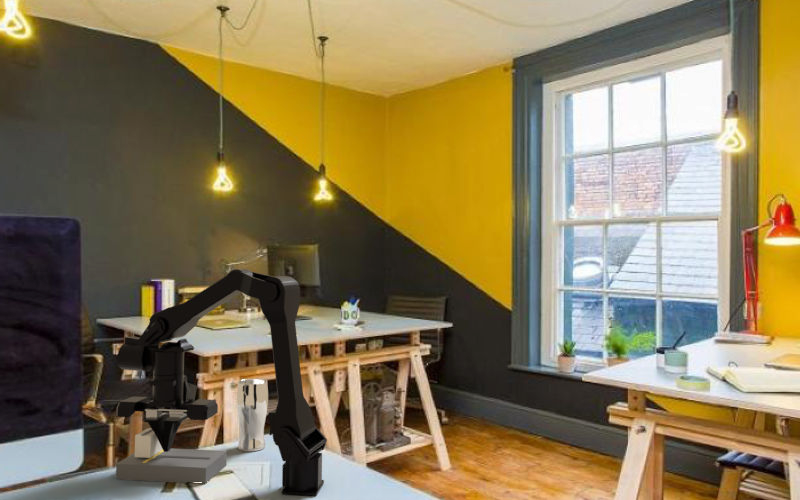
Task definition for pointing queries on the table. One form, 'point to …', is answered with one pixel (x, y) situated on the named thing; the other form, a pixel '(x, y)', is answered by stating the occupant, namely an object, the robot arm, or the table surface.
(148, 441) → the fader tab
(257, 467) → the table surface
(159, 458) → the fader console
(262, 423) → the beer glass
